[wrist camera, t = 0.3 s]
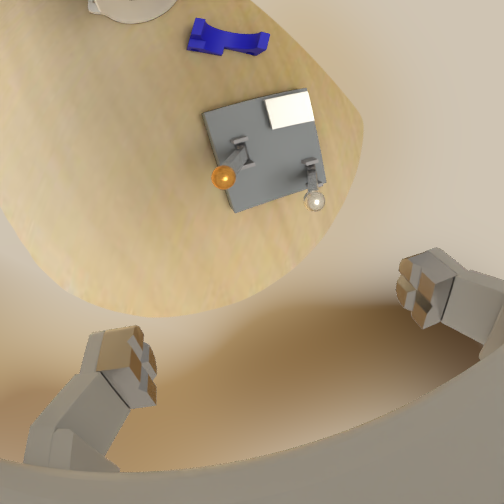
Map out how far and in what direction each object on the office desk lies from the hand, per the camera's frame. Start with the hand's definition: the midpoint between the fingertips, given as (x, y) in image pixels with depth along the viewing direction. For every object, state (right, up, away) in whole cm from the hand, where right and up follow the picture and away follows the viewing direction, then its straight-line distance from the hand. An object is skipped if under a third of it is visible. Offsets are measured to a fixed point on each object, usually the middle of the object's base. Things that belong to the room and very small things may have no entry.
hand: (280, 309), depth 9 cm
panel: (+1, +21, +43) cm, 48 cm away
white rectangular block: (+5, +24, +36) cm, 43 cm away
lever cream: (+10, +16, +43) cm, 46 cm away
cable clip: (-6, +37, +34) cm, 50 cm away
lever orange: (-2, +18, +38) cm, 42 cm away
